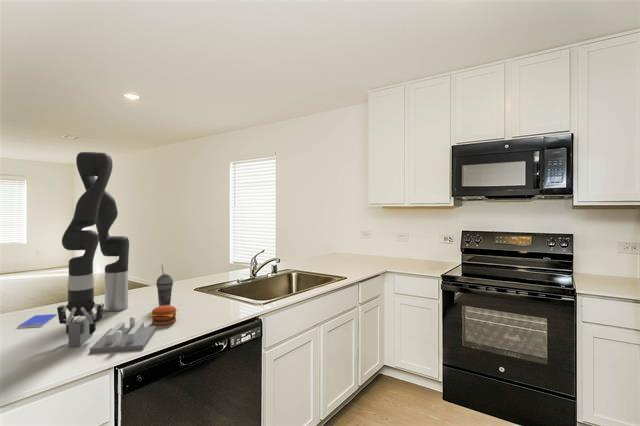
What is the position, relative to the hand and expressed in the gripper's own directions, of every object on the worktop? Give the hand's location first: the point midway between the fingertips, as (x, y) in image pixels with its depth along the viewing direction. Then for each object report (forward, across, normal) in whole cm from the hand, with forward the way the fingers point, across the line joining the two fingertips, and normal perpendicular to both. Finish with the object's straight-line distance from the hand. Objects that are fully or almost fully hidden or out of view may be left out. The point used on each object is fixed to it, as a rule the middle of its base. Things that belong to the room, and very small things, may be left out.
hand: (81, 333), depth 121 cm
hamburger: (+3, -24, -16) cm, 29 cm away
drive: (+3, 0, 0) cm, 3 cm away
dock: (+3, -15, +2) cm, 15 cm away
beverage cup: (+3, -20, -36) cm, 41 cm away
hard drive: (+3, +25, -24) cm, 35 cm away
